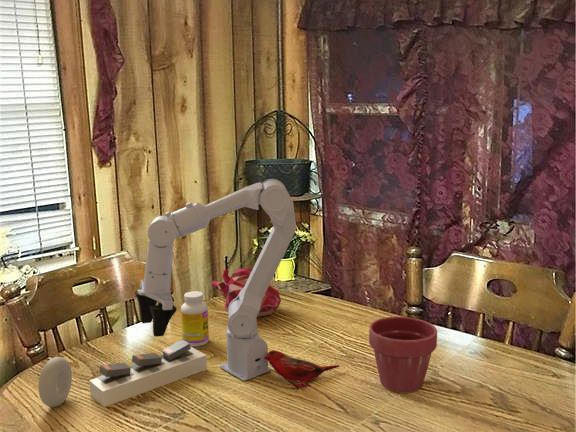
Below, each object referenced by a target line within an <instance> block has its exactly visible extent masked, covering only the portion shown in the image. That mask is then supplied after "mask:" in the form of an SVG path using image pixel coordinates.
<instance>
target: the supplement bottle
mask: <svg viewBox="0 0 576 432" xmlns="http://www.w3.org/2000/svg"><path fill="white" fill-rule="evenodd" d="M183 296H184V297H183V298H184V299H183V300H184V303H182V305H181V306H180V313H181V314H180V315H181V316H180V317H181V335H182V336H181V337H182V339H181V340H184V341H186V342H188V343H190V347H193V348H197V347H201V346H205V345H206V344H208V343H209V340H210V339H209V338H210V337H209V333H210V332H209V330H210V329H209V313H208V312H209V311H208V310H209V309H208V308H209V307H208V304H207V303H206V302H204V301H203V300H204V293H203V292H201V291H196V290H195V291H193V290H192V291H188V292H185V293H184V295H183Z"/></svg>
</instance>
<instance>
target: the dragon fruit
mask: <svg viewBox="0 0 576 432" xmlns="http://www.w3.org/2000/svg"><path fill="white" fill-rule="evenodd" d="M252 270H253V268H250V267H246V268H238V269H237V270H235V271H234V272H232V273H231V276H229V273H230V271H229V269H228V268H225V269H223V271H222V275H221V277H222V279H223V282H222V281H217V280H213V281H211V287H212V288H213V289H215V290H216V289H217V290H218V291H219V292H221V293H222V296H223V298H224V299H225V300H224V301H225V302H224V306H223V308H224V310H225V312H227V313H228V306H229V304H230V303H231V302H232V301H233V300H234V299H235V298H236V297H237V296H238V295H239V293H240V291H241V290H242V289H243V288H244V286H245V284H246V282H247V280H248V278H249V276H250V274H251V272H252ZM281 302H282V299H281V295H280V292H279V290H278V289H276V288H274V287H273V286H272V285H271V283H270V284H269V287H268V289H267V291H266V293H265V295H264V297H263V299H262V302H261V306H260V310H259V313H258V315H257V317H264V316H269V315H272V314H273V313H274V312H275V311H276V310H277V309H278V308H279V307H280V305H281Z"/></svg>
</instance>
